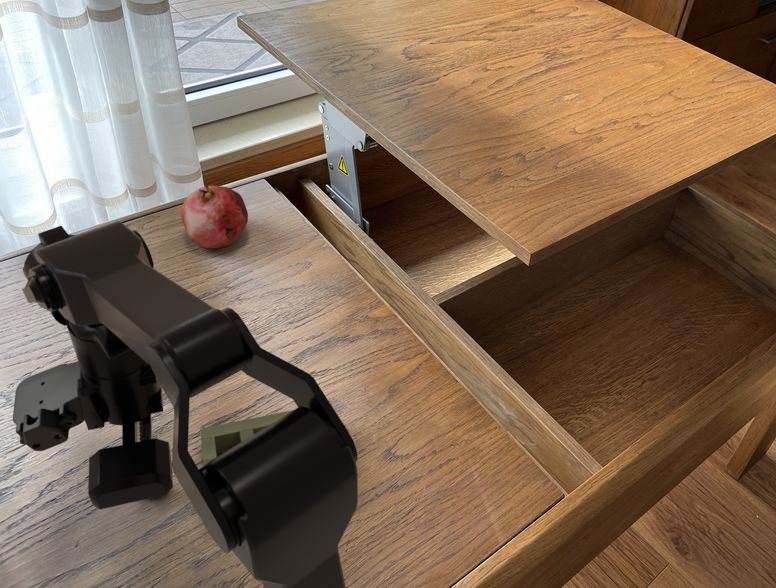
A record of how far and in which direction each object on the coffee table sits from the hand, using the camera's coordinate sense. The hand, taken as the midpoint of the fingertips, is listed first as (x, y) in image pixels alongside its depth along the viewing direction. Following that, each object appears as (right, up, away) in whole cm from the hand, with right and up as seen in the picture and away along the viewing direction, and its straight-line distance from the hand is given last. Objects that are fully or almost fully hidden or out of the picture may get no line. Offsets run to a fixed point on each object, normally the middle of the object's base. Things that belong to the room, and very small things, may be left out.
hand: (143, 454), depth 70 cm
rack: (+10, -4, +8) cm, 14 cm away
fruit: (-5, +21, +35) cm, 41 cm away
